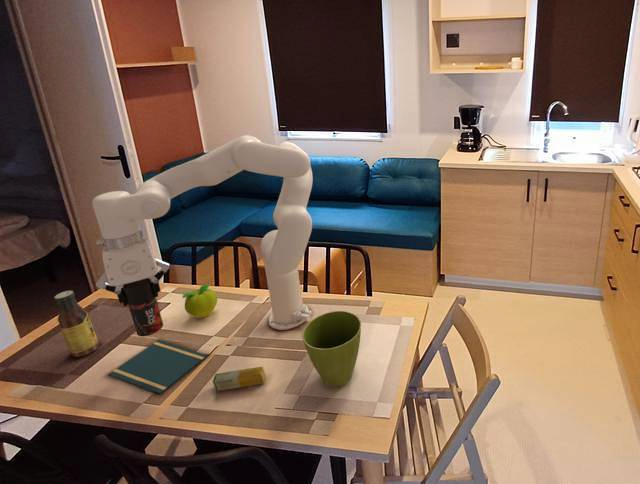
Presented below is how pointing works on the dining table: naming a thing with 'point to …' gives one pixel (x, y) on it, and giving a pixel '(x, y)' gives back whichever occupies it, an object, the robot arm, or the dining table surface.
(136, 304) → the deodorant
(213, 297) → the fruit
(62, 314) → the sauce bottle
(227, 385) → the medication box
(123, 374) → the cloth
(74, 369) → the dining table surface
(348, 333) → the flower pot
